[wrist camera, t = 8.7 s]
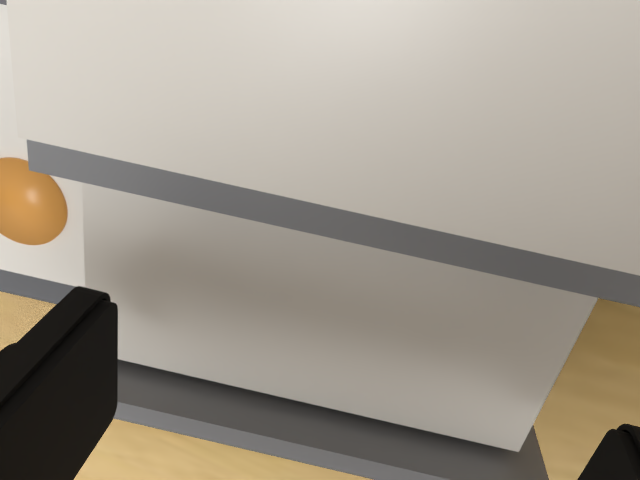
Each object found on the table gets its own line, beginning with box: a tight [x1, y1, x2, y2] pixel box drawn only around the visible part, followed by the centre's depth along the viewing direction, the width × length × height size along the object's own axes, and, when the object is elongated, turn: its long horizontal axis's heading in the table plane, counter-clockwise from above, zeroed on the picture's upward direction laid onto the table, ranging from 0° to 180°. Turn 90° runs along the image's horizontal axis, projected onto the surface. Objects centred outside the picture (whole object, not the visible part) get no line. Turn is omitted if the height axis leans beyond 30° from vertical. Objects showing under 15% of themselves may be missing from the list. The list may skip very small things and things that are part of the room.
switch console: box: [0, 0, 640, 480], centre depth 11 cm, size 18×20×5 cm
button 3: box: [82, 182, 598, 452], centre depth 14 cm, size 11×5×3 cm, turn 80°
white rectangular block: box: [6, 0, 640, 276], centre depth 9 cm, size 11×5×3 cm, turn 80°
